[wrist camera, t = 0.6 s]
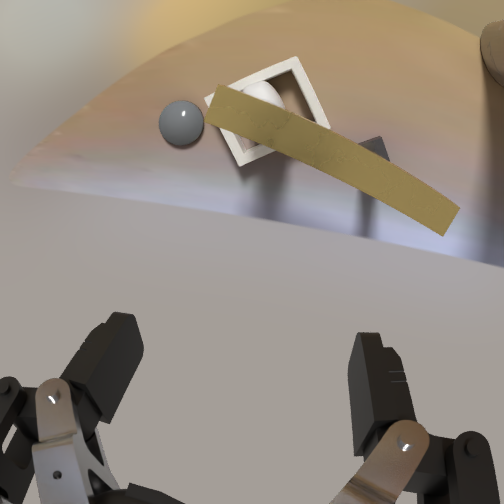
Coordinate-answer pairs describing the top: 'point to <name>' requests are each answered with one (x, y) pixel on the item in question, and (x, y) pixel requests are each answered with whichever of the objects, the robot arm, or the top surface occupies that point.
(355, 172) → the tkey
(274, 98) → the eye dropper bottle
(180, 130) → the grey round disc
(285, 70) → the white rectangular frame
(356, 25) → the top surface
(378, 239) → the top surface
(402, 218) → the top surface
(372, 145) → the key plate
